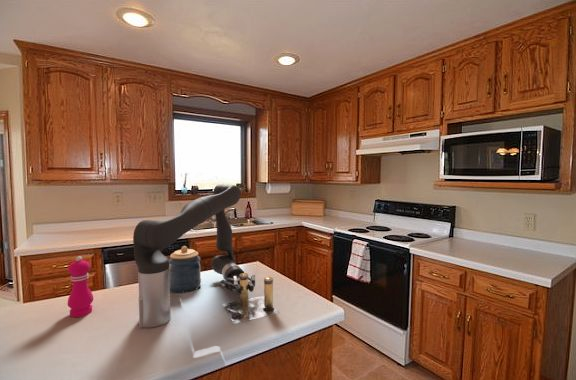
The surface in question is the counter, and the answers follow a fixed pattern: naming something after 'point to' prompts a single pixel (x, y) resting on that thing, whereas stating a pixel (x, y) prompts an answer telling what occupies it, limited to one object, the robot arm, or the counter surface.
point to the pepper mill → (80, 289)
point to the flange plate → (248, 310)
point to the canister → (184, 270)
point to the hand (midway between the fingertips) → (246, 290)
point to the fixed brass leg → (268, 293)
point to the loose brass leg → (244, 289)
